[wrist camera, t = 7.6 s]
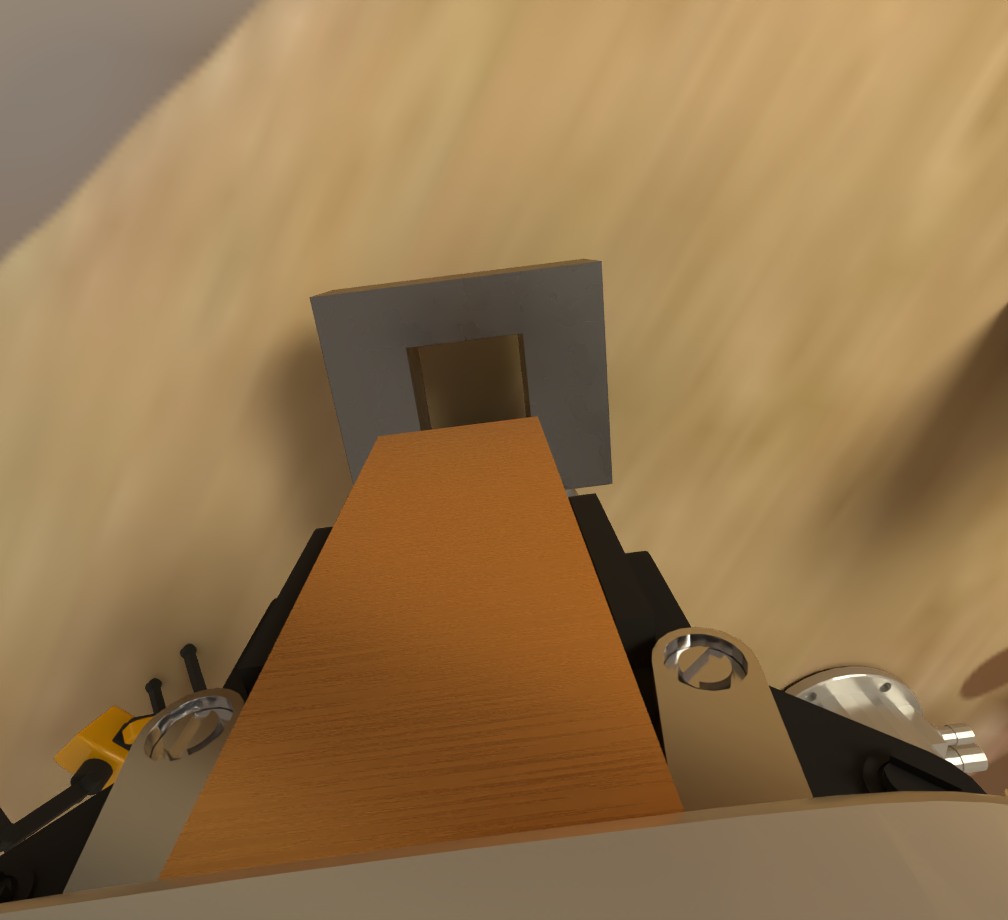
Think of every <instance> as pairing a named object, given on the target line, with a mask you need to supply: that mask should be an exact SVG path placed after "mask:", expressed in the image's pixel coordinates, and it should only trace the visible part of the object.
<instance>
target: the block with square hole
mask: <svg viewBox="0 0 1008 920" xmlns="http://www.w3.org/2000/svg"><path fill="white" fill-rule="evenodd" d="M310 301H311V305H312V310H313V314H314V318H315V323H316V327H317V331H318V335H319V340H320V344H321V348H322V353H323V357H324V361H325V365H326V370H327V374H328V378H329V382H330V387H331V391H332V395H333V400H334V404H335V408H336V412H337V417H338V421H339V425H340V430H341V434H342V438H343V442H344V447H345V451H346V455H347V459H348V464H349V468H350V472H351V477H352V481H353V485H354V484H355V482H356V480H357V478H358V476H359V474H360V472H361V470H362V468H363V466H364V464H365V462H366V460H367V458H368V456H369V454H370V452H371V450H372V448H373V446H374V444H375V442H376V440H377V438H378V436H384V435H392V434H400V433H408V432H416V431H424V430H432V429H431V423H430V418H429V412H428V406H427V400H426V394H425V388H424V383H423V377H422V371H421V365H420V359H419V353H418V346H426V345H434V344H442V343H450V342H458V341H466V340H474V339H482V338H490V337H498V336H506V335H514V334H518V343H519V352H520V362H521V371H522V381H523V390H524V400H525V409H526V418H528V417H536V416H538V418H539V421H540V424H541V427H542V429H543V432H544V435H545V437H546V440H547V443H548V445H549V448H550V451H551V453H552V456H553V459H554V462H555V464H556V467H557V470H558V472H559V475H560V478H561V480H562V483H563V486H564V488H565V491H566V494H567V497H571V496H579V495H578V494H577V492H576V490H575V488H583V487H591V486H599V485H607V484H612V465H611V445H610V424H609V404H608V384H607V363H606V343H605V323H604V302H603V282H602V261H596V260H589V259H579V260H571V261H563V262H555V263H547V264H539V265H531V266H523V267H514V268H506V269H498V270H490V271H482V272H474V273H466V274H458V275H450V276H442V277H434V278H426V279H418V280H410V281H402V282H394V283H386V284H378V285H370V286H362V287H354V288H346V289H338V290H332V291H328V292H325V293H322V294H319V295H316V296H313V297H310Z"/></svg>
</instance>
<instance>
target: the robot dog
mask: <svg viewBox="0 0 1008 920" xmlns="http://www.w3.org/2000/svg"><path fill="white" fill-rule="evenodd" d="M180 654H181V656H182V657H183V658H184V661H185V664H186V667H187V671H188V674H189V677H190V681H191V684H192V687H193V691H194V693H196V692H199V691H202V690H207V688H206V685H205V682H204V679H203V676H202V672H201V669H200V666H199V663H198V660H197V656H196V647H195V646H194V645H192V644H187V645H186V646H185V647H184V648H183V649H182V650H181V651H180ZM161 685H162V684H161V681H160V680H158V679H152V680H150V681H149V682H148V683H147V684H146V686H145V689H146V691H147V692H148V693H149V696H150V700H151V704H152V708H153V712H154V714H151V715H145V716H140V717H134V716H132V715H131V714H129V713H127V712H126V711H124V710H122V709H120V708H118V707H116V706H113V707H112V708H110V709H109V710H108V711H106V712H105V713H104V714H103V715H101V716H100V717H99V718H97V719H96V720H95V721H94V722H92V723H91V724H90V725H88V726H87V727H86V728H85V729H83V730H82V731H81V732H79V733H78V734H77V735H76V736H75V737H74V738H73V739H72V740H71V741H70V742H69V743H68V744H67V745H66V746H65V747H64V748H63V749H62V750H61V751H60V752H59V753H58V754H57V755H56V756H55V757H54V760H55V762H56V763H57V764H58V765H60V766H61V767H62V768H64V769H65V770H67V771H69V772H70V773H72V774H74V776H73V777H72V778H71V786H70V787H69V788H67V789H66V790H64V791H63V792H61V793H60V794H58V795H57V796H55V797H54V798H52V799H51V800H49V801H48V802H46V803H45V804H43V805H42V806H40V807H39V808H37V809H36V810H34V811H33V812H31V813H30V814H28V815H27V816H25V817H24V818H22V819H21V820H19V821H18V822H16V823H15V824H12V823H11V822H10V820H9V819H8V818H7V816H6V815H5V813H4V812H3V811H2V809H1V808H0V852H2V851H4V853H6V852H7V851H9V850H10V849H12V848H13V847H15V846H16V845H18V844H19V843H21V842H22V841H23V840H25V839H26V838H28V837H29V836H31V835H32V834H33V833H35V832H36V831H38V830H39V829H41V828H42V827H43V826H45V825H46V824H48V823H49V822H50V821H52V820H53V819H55V818H56V817H58V816H59V815H60V814H62V813H63V812H65V811H66V810H68V809H69V808H70V807H72V806H73V805H75V804H77V803H79V802H81V801H82V800H83V799H84V798H85V797H86V796H87V795H95V794H97V793H99V792H100V791H101V790H104V789H105V788H107V787H108V786H110V785H111V784H113V783H114V782H115V780H116V778H117V776H118V774H119V772H120V770H121V768H122V765H123V763H124V761H125V759H126V757H127V755H128V753H129V751H130V748H131V746H132V744H133V742H134V740H135V739H136V737H137V736H138V734H139V732H140V731H141V729H142V728H143V727H144V726H145V725H146V724H147V723H148V722H149V721H150V720H151V719H152V718H153V717H154V716H155V715H156V714H157V713H159V712H160V711H162V710H163V709H164V708H166V706H165V703H164V699H163V695H162V692H161V688H160V687H161Z"/></svg>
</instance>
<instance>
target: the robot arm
mask: <svg viewBox="0 0 1008 920" xmlns="http://www.w3.org/2000/svg"><path fill="white" fill-rule="evenodd" d="M568 499H569V502H570V505H571V507H572V510H573V513H574V515H575V518H576V521H577V523H578V526H579V529H580V532H581V534H582V537H583V540H584V542H585V545H586V548H587V550H588V553H589V556H590V558H591V561H592V564H593V567H594V569H595V572H596V575H597V577H598V580H599V583H600V585H601V588H602V591H603V593H604V596H605V599H606V602H607V604H608V607H609V610H610V612H611V615H612V618H613V620H614V623H615V626H616V628H617V631H618V634H619V637H620V639H621V642H622V645H623V647H624V650H625V653H626V655H627V658H628V661H629V663H630V666H631V669H632V672H633V674H634V677H635V680H636V682H637V685H638V688H639V690H640V693H641V696H642V698H643V701H644V704H645V706H646V709H647V712H648V715H649V717H650V720H651V723H652V725H653V728H654V731H655V733H656V736H657V739H658V741H659V744H660V747H661V750H662V752H663V755H664V758H665V760H666V763H667V766H668V768H669V771H670V774H671V776H672V779H673V782H674V785H675V787H676V790H677V793H678V795H679V798H680V801H681V803H682V806H683V809H684V811H685V812H680V813H672V814H664V815H656V816H648V817H640V818H631V819H623V820H615V821H607V822H599V823H591V824H583V825H575V826H567V827H559V828H551V829H543V830H534V831H526V832H519V833H511V834H503V835H495V836H487V837H480V838H472V839H464V840H456V841H449V842H441V843H433V844H425V845H418V846H410V847H402V848H395V849H387V850H379V851H372V852H364V853H356V854H349V855H341V856H333V857H326V858H318V859H311V860H303V861H295V862H288V863H280V864H273V865H266V866H258V867H251V868H244V869H236V870H229V871H222V872H214V873H207V874H200V875H192V876H185V877H178V878H170V879H163V880H158V878H159V876H160V874H161V872H162V870H163V868H164V866H165V864H166V862H167V860H168V858H169V856H170V854H171V852H172V850H173V848H174V846H175V843H176V841H177V839H178V837H179V835H180V833H181V831H182V829H183V827H184V825H185V823H186V821H187V819H188V817H189V815H190V813H191V811H192V809H193V807H194V805H195V803H196V801H197V799H198V797H199V795H200V793H201V791H202V789H203V787H204V785H205V783H206V781H207V779H208V777H209V775H210V773H211V771H212V769H213V767H214V765H215V763H216V761H217V759H218V757H219V755H220V753H221V751H222V749H223V747H224V745H225V743H226V741H227V739H228V737H229V735H230V733H231V731H232V729H233V727H234V725H235V723H236V721H237V719H238V717H239V715H240V713H241V711H242V709H243V707H244V705H245V703H246V701H247V699H248V697H249V695H250V693H251V691H252V689H253V687H254V685H255V683H256V681H257V679H258V677H259V675H260V673H261V671H262V669H263V667H264V665H265V663H266V661H267V659H268V657H269V655H270V653H271V651H272V649H273V647H274V645H275V643H276V641H277V639H278V637H279V635H280V633H281V631H282V629H283V627H284V625H285V623H286V621H287V619H288V617H289V615H290V613H291V611H292V609H293V607H294V605H295V603H296V601H297V599H298V597H299V595H300V593H301V591H302V589H303V586H304V584H305V582H306V580H307V578H308V576H309V574H310V572H311V570H312V568H313V566H314V564H315V562H316V560H317V558H318V556H319V554H320V552H321V550H322V548H323V546H324V544H325V542H326V540H327V538H328V536H329V534H330V532H331V530H332V528H333V527H326V528H318V529H316V530H315V531H314V533H313V534H312V536H311V538H310V540H309V542H308V543H307V545H306V547H305V549H304V551H303V552H302V554H301V556H300V558H299V560H298V561H297V563H296V565H295V567H294V569H293V570H292V572H291V574H290V576H289V578H288V579H287V581H286V583H285V585H284V587H283V588H282V590H281V592H280V594H279V596H278V597H277V598H276V599H274V600H273V601H272V602H271V604H270V605H269V607H268V609H267V610H266V612H265V614H264V616H263V617H262V619H261V621H260V623H259V624H258V626H257V628H256V630H255V632H254V633H253V635H252V637H251V639H250V640H249V642H248V644H247V646H246V647H245V649H244V651H243V653H242V655H241V656H240V658H239V660H238V662H237V663H236V665H235V667H234V669H233V670H232V672H231V674H230V676H229V677H228V679H227V681H226V683H225V685H224V686H223V688H214V689H207V690H202V691H199V692H196V693H193V694H190V695H187V696H185V697H183V698H181V699H179V700H177V701H175V702H174V703H172V704H170V705H169V706H167V707H166V708H164V709H163V710H162V711H160V712H159V713H157V714H156V715H155V716H154V717H153V718H152V719H151V720H150V721H149V722H148V723H147V724H146V725H145V726H144V727H143V728H142V729H141V731H140V732H139V734H138V736H137V737H136V739H135V740H134V742H133V744H132V746H131V748H130V751H129V753H128V755H127V757H126V759H125V761H124V763H123V765H122V768H121V770H120V772H119V774H118V776H117V778H116V780H115V782H114V783H113V784H111V785H110V786H108V787H107V788H105V789H104V790H102V791H100V792H99V793H97V794H96V795H94V796H93V797H91V798H90V799H88V800H86V801H85V802H83V803H82V804H80V805H79V806H77V807H76V808H74V809H73V810H71V811H69V812H68V813H66V814H65V815H63V816H62V817H60V818H59V819H57V820H55V821H54V822H52V823H51V824H49V825H48V826H46V827H45V828H43V829H41V830H40V831H38V832H37V833H35V834H34V835H32V836H31V837H29V838H27V839H26V840H24V841H23V842H21V843H20V844H18V845H17V846H15V847H13V848H12V849H10V850H9V851H7V852H6V853H4V854H3V855H1V856H0V920H1008V790H1006V789H1004V792H1003V796H996V795H987V794H986V793H985V792H984V790H983V789H982V788H981V787H980V786H979V785H978V784H977V783H976V782H975V781H974V780H973V779H972V778H971V777H970V776H968V775H967V774H966V773H970V772H977V771H985V770H987V768H988V762H987V758H986V756H985V754H984V752H983V751H982V750H981V748H980V747H979V746H977V745H976V744H975V743H974V741H975V736H974V733H973V731H972V730H971V728H970V727H969V726H968V725H967V724H965V723H958V724H950V725H945V726H943V727H936V726H934V725H932V724H929V723H928V722H927V721H926V720H925V719H924V718H923V713H922V709H921V705H920V703H919V701H918V699H917V698H916V696H915V694H914V693H913V692H912V691H911V690H910V689H909V688H908V687H907V686H906V685H905V684H904V683H903V682H902V681H901V680H899V679H898V678H896V677H895V676H894V675H892V674H890V673H887V672H885V671H883V670H880V669H875V668H870V667H857V666H849V667H842V668H834V669H830V670H827V671H823V672H819V673H817V674H814V675H812V676H810V677H807V678H805V679H803V680H801V681H800V682H798V683H796V684H795V685H793V686H791V687H790V688H788V689H787V690H786V691H785V692H783V691H781V690H778V689H776V688H774V687H771V686H769V685H768V683H767V680H766V678H765V675H764V673H763V670H762V668H761V665H760V663H759V660H758V659H757V657H756V656H755V654H754V652H753V651H752V649H750V648H749V647H748V646H747V645H746V644H745V643H743V642H742V641H741V640H739V639H738V638H736V637H734V636H732V635H730V634H728V633H725V632H722V631H718V630H715V629H711V628H701V627H691V626H690V624H689V622H688V621H687V619H686V617H685V615H684V614H683V612H682V610H681V608H680V607H679V605H678V603H677V601H676V600H675V598H674V596H673V594H672V592H671V591H670V589H669V587H668V585H667V584H666V582H665V580H664V578H663V577H662V575H661V573H660V571H659V570H658V568H657V566H656V564H655V562H654V561H653V559H652V557H651V555H650V554H649V553H648V552H647V551H641V552H633V553H624V550H623V548H622V546H621V544H620V542H619V540H618V538H617V536H616V534H615V532H614V530H613V528H612V526H611V524H610V522H609V520H608V518H607V516H606V514H605V511H604V509H603V507H602V505H601V503H600V501H599V499H598V497H597V495H596V494H595V493H594V494H587V495H579V496H571V497H568Z"/></svg>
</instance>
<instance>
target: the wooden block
mask: <svg viewBox="0 0 1008 920" xmlns="http://www.w3.org/2000/svg"><path fill="white" fill-rule="evenodd" d="M680 812H685V811H684V809H683V806H682V803H681V801H680V798H679V795H678V793H677V790H676V787H675V785H674V782H673V779H672V776H671V774H670V771H669V768H668V766H667V763H666V760H665V758H664V755H663V752H662V750H661V747H660V744H659V741H658V739H657V736H656V733H655V731H654V728H653V725H652V723H651V720H650V717H649V715H648V712H647V709H646V706H645V704H644V701H643V698H642V696H641V693H640V690H639V688H638V685H637V682H636V680H635V677H634V674H633V672H632V669H631V666H630V663H629V661H628V658H627V655H626V653H625V650H624V647H623V645H622V642H621V639H620V637H619V634H618V631H617V628H616V626H615V623H614V620H613V618H612V615H611V612H610V610H609V607H608V604H607V602H606V599H605V596H604V593H603V591H602V588H601V585H600V583H599V580H598V577H597V575H596V572H595V569H594V567H593V564H592V561H591V558H590V556H589V553H588V550H587V548H586V545H585V542H584V540H583V537H582V534H581V532H580V529H579V526H578V523H577V521H576V518H575V515H574V513H573V510H572V507H571V505H570V502H569V499H568V497H567V494H566V491H565V488H564V486H563V483H562V480H561V478H560V475H559V472H558V470H557V467H556V464H555V462H554V459H553V456H552V453H551V451H550V448H549V445H548V443H547V440H546V437H545V435H544V432H543V429H542V427H541V424H540V421H539V418H538V416H536V417H528V418H520V419H512V420H504V421H496V422H488V423H480V424H472V425H464V426H456V427H448V428H440V429H432V430H424V431H416V432H408V433H400V434H392V435H384V436H378V438H377V440H376V442H375V444H374V446H373V448H372V450H371V452H370V454H369V456H368V458H367V460H366V462H365V464H364V466H363V468H362V470H361V472H360V474H359V476H358V478H357V480H356V482H355V484H354V486H353V488H352V490H351V492H350V494H349V496H348V498H347V500H346V502H345V504H344V506H343V508H342V510H341V512H340V514H339V516H338V518H337V520H336V522H335V524H334V526H333V528H332V530H331V532H330V534H329V536H328V538H327V540H326V542H325V544H324V546H323V548H322V550H321V552H320V554H319V556H318V558H317V560H316V562H315V564H314V566H313V568H312V570H311V572H310V574H309V576H308V578H307V580H306V582H305V584H304V586H303V589H302V591H301V593H300V595H299V597H298V599H297V601H296V603H295V605H294V607H293V609H292V611H291V613H290V615H289V617H288V619H287V621H286V623H285V625H284V627H283V629H282V631H281V633H280V635H279V637H278V639H277V641H276V643H275V645H274V647H273V649H272V651H271V653H270V655H269V657H268V659H267V661H266V663H265V665H264V667H263V669H262V671H261V673H260V675H259V677H258V679H257V681H256V683H255V685H254V687H253V689H252V691H251V693H250V695H249V697H248V699H247V701H246V703H245V705H244V707H243V709H242V711H241V713H240V715H239V717H238V719H237V721H236V723H235V725H234V727H233V729H232V731H231V733H230V735H229V737H228V739H227V741H226V743H225V745H224V747H223V749H222V751H221V753H220V755H219V757H218V759H217V761H216V763H215V765H214V767H213V769H212V771H211V773H210V775H209V777H208V779H207V781H206V783H205V785H204V787H203V789H202V791H201V793H200V795H199V797H198V799H197V801H196V803H195V805H194V807H193V809H192V811H191V813H190V815H189V817H188V819H187V821H186V823H185V825H184V827H183V829H182V831H181V833H180V835H179V837H178V839H177V841H176V843H175V846H174V848H173V850H172V852H171V854H170V856H169V858H168V860H167V862H166V864H165V866H164V868H163V870H162V872H161V874H160V876H159V878H158V880H163V879H170V878H178V877H185V876H192V875H200V874H207V873H214V872H222V871H229V870H236V869H244V868H251V867H258V866H266V865H273V864H280V863H288V862H295V861H303V860H311V859H318V858H326V857H333V856H341V855H349V854H356V853H364V852H372V851H379V850H387V849H395V848H402V847H410V846H418V845H425V844H433V843H441V842H449V841H456V840H464V839H472V838H480V837H487V836H495V835H503V834H511V833H519V832H526V831H534V830H543V829H551V828H559V827H567V826H575V825H583V824H591V823H599V822H607V821H615V820H623V819H631V818H640V817H648V816H656V815H664V814H672V813H680Z"/></svg>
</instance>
